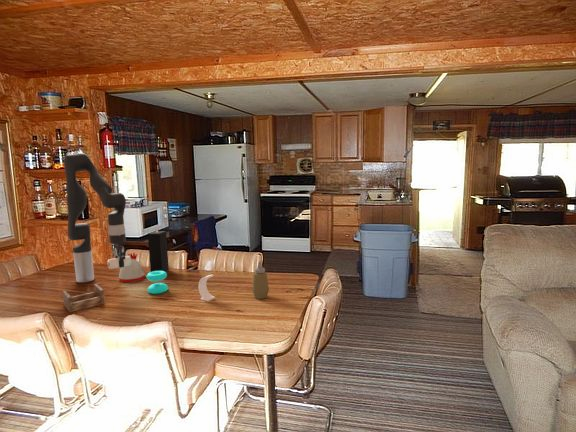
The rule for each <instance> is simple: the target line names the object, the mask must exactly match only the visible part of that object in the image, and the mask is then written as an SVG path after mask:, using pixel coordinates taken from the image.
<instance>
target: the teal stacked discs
mask: <svg viewBox="0 0 576 432" xmlns="http://www.w3.org/2000/svg"><path fill="white" fill-rule="evenodd" d="M167 277H168V273H167V271H166V272H165V271H153V272H151V271H150V272H148V273H147V275H145V278H146V279H147V281H150V282H155V283H152V284H150V285H149V286H148V287H147V292H148V294H151V295H157V294H162V293H166V292H167V291H168V290H169V286H168V285H167V284H166V283H164V282H161V281H163V280H164V279H167ZM159 281H160V282H159Z"/></svg>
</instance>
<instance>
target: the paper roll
mask: <svg viewBox="0 0 576 432" xmlns="http://www.w3.org/2000/svg"><path fill="white" fill-rule="evenodd" d="M131 263H132V260H131V257H130V256H128V255H125V259H124V266H129V265H131ZM106 265H107V267H108V269H109V270H113V269H118V268H120V267H119V260H118V258H114V257H113V258H110V259H107V264H106Z"/></svg>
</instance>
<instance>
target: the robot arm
mask: <svg viewBox="0 0 576 432" xmlns="http://www.w3.org/2000/svg"><path fill="white" fill-rule="evenodd" d="M63 166H64V173H65V181H66V202H67V203H66V204H67V214H68V216H67V219H68V220H67V236H68V239H69V240H70V241H80V240H83V241H82V242H80V243H79V244H76V245H75V246H74V247H72V256H73V263H74V271H75V281H76V282H77V283H88V282H92V281H94V280H95V273H94V272H95V271H94V261H93V260H94V259H93V251H92V241H91V228H90V225H89V223H88V222H83V223H81V222H80V223H76V222H77V220H78V218H79V217H80V215H81V214H82V213H83V212H84V211H85V209H86V206H87V204H88V202H87V201H88V199H87V192H86V190H85V189H84V188H83V186H81V184H80V183H79V182H78V180H77V176H76V175H77V173H79V172H85V171H86V172H87V173H88V174H89V184H90V188H92V189H93V191H94V192H95V193H96V194H97V195H98V196H99V199H100V201H101V203H102V206H104V207H105V208H108V209H113V211H111V212H110V213H108V215H107V222H108V229H107V230H108V241H109V244H111V249H112V256H113V258H118V260H119V268H120V269H121V268H122V267H124V259H125V256H126V248H125V247H124V245H123V244H124V243H126V241H127V237H126V228H125V220H124V215H125V214H124V213H125V209H126V205H127V204H126V203H127V200H126V197H125V195H124V193H121V192H116V193H115V192H114V193H112V192H113V187H112V186H111V185H110V183H109V182H107V181H106V180H105V178H104V177H102V176H103V175H101V174H100V172H99V171H98V169H97V167H96V166H95V164H94V162H92V160H91V158H90V157H89V156H88V155H87V154H86V153H83V152H78V153H73V154H72V153H70V154H67V155H65V156H64V158H63Z"/></svg>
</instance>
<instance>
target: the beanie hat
mask: <svg viewBox="0 0 576 432" xmlns="http://www.w3.org/2000/svg"><path fill="white" fill-rule="evenodd" d="M127 256H130V257H131V260H132V263H131V265H129V266H124V267H122V268H120V270H119V274H118V280H119V282H122V283H133V282H139V281H141V280H143V279H146V275H145V274H146V273H145V271H144V268H143V266H142V264H141V263H140V262H139V260H137V256H138V253H136V254H135V252H133V253H132V252H130V253H128V254H127Z"/></svg>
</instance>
